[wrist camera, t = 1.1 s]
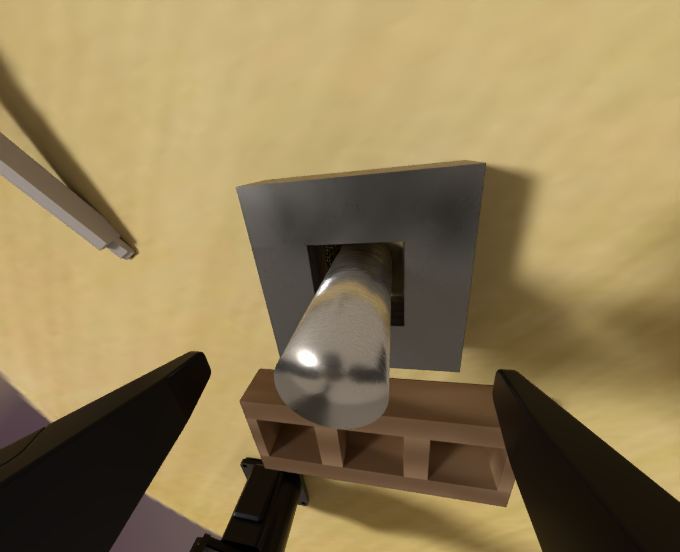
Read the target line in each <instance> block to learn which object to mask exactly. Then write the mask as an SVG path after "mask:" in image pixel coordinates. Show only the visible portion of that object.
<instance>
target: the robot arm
mask: <svg viewBox="0 0 680 552" xmlns="http://www.w3.org/2000/svg"><path fill="white" fill-rule="evenodd" d="M210 375H211V369H210V366H209V364H208V361H207V359H206V356H205V354H204V353H203V352H198V351H191V352H188V353H186V354H184V355H182V356H180V357H178V358H176V359H174V360H172V361H170V362H169V363H167V364H165V365H163V366H161V367H159V368H157V369H155V370H153V371H151V372H149V373H147V374H145V375H143V376H141V377H140V378H138V379H136V380H134V381H132V382H130V383H128V384H126V385H124V386H122V387H120V388H118V389H116V390H114V391H112V392H111V393H109V394H107V395H105V396H103V397H101V398H99V399H97V400H95V401H93V402H91V403H89V404H87V405H85V406H83V407H82V408H80V409H78V410H76V411H74V412H72V413H70V414H68V415H66V416H64V417H62V418H60V419H58V420H56V421H55V422H53V423H51V424H49V425H47V427H43V428H41V429H39V430H37V431H35V432H33V433H31V434H29V435H27V436H25V437H23V438H22V439H20V440H18V441H16V442H14V443H12V444H10V445H8V446H6V447H4V448H2V449H0V552H109V551H110V549H111V548H112V546H113V544H114V543H115V541H116V539H117V538H118V536H119V534H120V533H121V531H122V529H123V528H124V526H125V524H126V523H127V521H128V519H129V518H130V516H131V514H132V513H133V511H134V510H135V508H136V506H137V505H138V503H139V501H140V500H141V498H142V496H143V495H144V493H145V491H146V490H147V488H148V487H149V485H150V483H151V482H152V480H153V478H154V477H155V475H156V473H157V472H158V470H159V468H160V467H161V465H162V463H163V462H164V460H165V458H166V457H167V455H168V454H169V452H170V450H171V449H172V447H173V445H174V444H175V442H176V440H177V439H178V437H179V435H180V434H181V432H182V430H183V429H184V427H185V425H186V424H187V422H188V420H189V418H190V416H191V414H192V412H193V410H194V408H195V406H196V404H197V402H198V400H199V398H200V396H201V394H202V392H203V390H204V388H205V386H206V384H207V382H208V380H209V378H210ZM492 397H493V402H494V406H495V410H496V413H497V417H498V421H499V425H500V429H501V433H502V436H503V440H504V444H505V448H506V452H507V455H508V459H509V462H510V465H511V468H512V471H513V474H514V477H515V479H516V482H517V485H518V487H519V490H520V493H521V495H522V498H523V501H524V503H525V506H526V509H527V511H528V514H529V517H530V519H531V522H532V525H533V527H534V530H535V533H536V535H537V538H538V541H539V543H540V546H541V549H542V552H680V502H679V501H678V500H677V499H675V498H674V497H673V496H672V495H670V494H669V493H668V492H667V491H665V490H664V489H663V488H662V487H660V486H659V485H658V484H657V483H655V482H654V481H653V480H652V479H650V478H649V477H648V476H647V475H645V474H644V473H643V472H642V471H640V470H639V469H638V468H637V467H635V466H634V465H633V464H632V463H631V462H629V461H628V460H627V459H626V458H624V457H623V456H622V455H621V454H619V453H618V452H617V451H616V450H614V449H613V448H612V447H611V446H609V445H608V444H607V443H606V442H604V441H603V440H602V439H601V438H599V437H598V436H597V435H596V434H594V433H593V432H592V431H591V430H589V429H588V428H587V427H586V426H584V425H583V424H582V423H581V422H580V421H578V420H577V419H576V418H575V417H573V416H572V415H571V414H570V413H568V412H567V411H566V410H565V409H563V408H562V407H561V406H560V405H558V404H557V403H556V402H555V401H553V400H552V399H551V398H550V397H548V396H547V395H546V394H545V393H543V392H542V391H541V390H540V389H538V388H537V387H536V386H535V385H534V384H532V383H531V382H530V381H529V380H527V379H526V378H525V377H524V376H522V375H521V374H520V373H519V372H517V371H515V370H507V369H499V370H497V372H496V376H495V381H494V385H493V390H492ZM240 465H241V467H242V470H243V472H244V474H245V476H246V478H247V482H246V484H245V487H244V489H243V491H242V493H241V496H240V498H239V500H238V502H237V505H236V507H235V509H234V511H233V514H232V516H231V519H230V521H229V523H228V525H227V528H226V530H225V532H224V534H223V537H222V539H221V541H220V540H218V539H215V538H213V537H211V535H209V534H207V533H205V534H204V536H203V537H202V538H201V537H197V538H196V540H195V542H194V544H193V546H192V548H191V550H190V552H284V551H285V548H286V544H287V540H288V537H289V533H290V530H291V526H292V522H293V519H294V515H295V511H296V508H297V504H298V505H303V506H307V505H308V502H309V498H308V494H307V491H306V487H305V484H304V480H303V477H302V474H298V473H292V472H285V471H279V470H273V469H267V468H265V467H264V464H263V462H262V461H256V460H249V459H243V460H242V462H241V464H240Z"/></svg>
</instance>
